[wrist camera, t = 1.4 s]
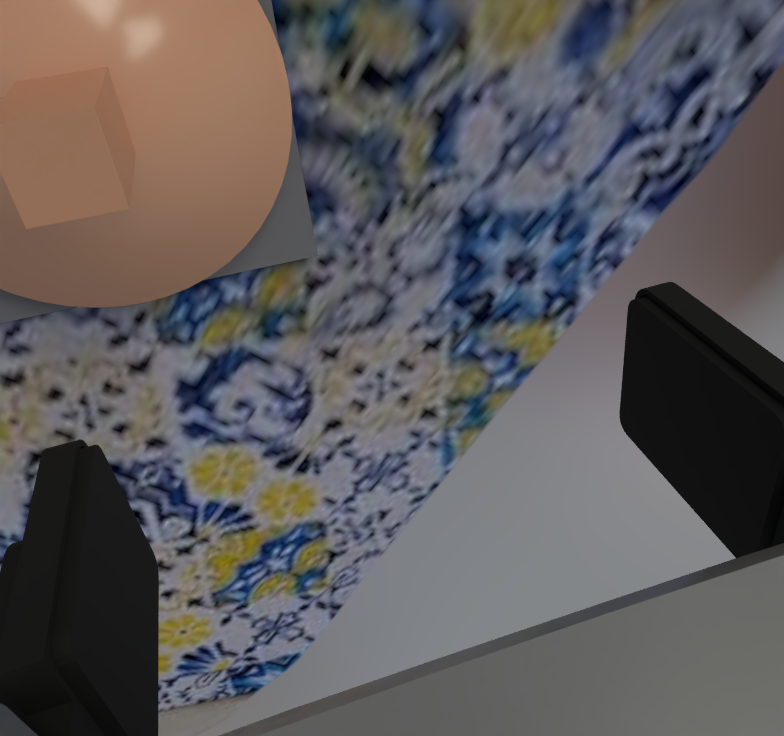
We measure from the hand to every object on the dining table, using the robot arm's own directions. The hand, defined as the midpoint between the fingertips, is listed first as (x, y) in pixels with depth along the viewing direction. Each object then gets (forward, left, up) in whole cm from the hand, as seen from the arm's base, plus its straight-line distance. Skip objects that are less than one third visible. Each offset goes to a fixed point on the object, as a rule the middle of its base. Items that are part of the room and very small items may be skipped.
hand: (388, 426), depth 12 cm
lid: (-1, -7, -21) cm, 22 cm away
